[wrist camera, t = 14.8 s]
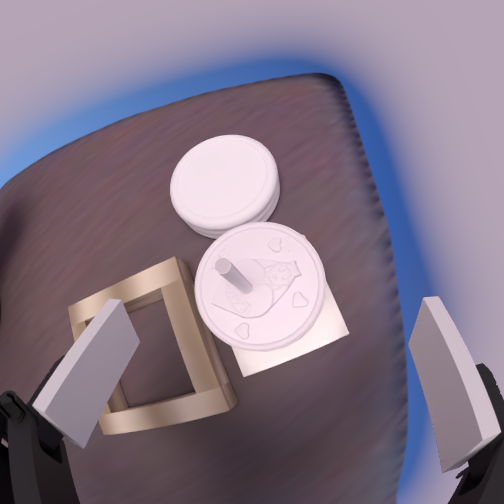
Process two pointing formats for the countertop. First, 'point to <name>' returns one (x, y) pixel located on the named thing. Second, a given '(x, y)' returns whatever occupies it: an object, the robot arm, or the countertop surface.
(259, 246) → the smoothie
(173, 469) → the countertop surface
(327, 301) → the tile
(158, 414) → the square wooden frame
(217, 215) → the coaster
